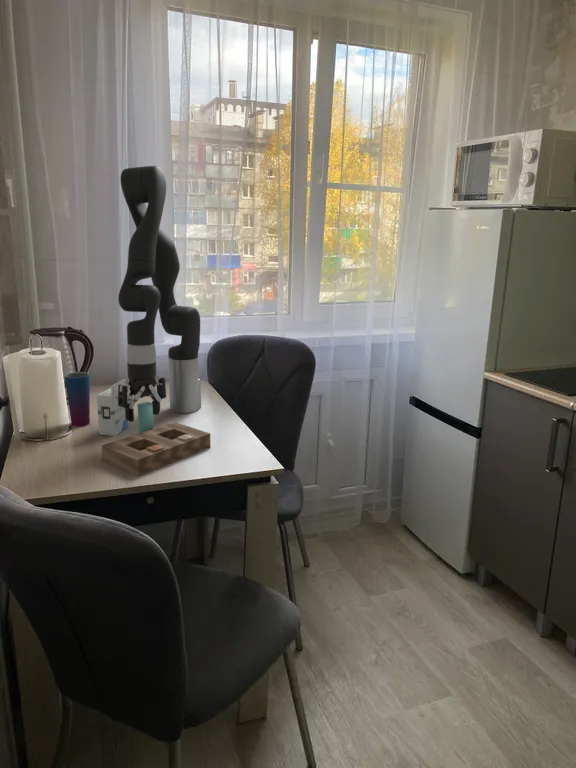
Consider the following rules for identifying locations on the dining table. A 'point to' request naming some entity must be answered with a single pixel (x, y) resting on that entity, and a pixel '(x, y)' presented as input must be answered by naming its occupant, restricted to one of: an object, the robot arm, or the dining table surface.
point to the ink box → (111, 411)
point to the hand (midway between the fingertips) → (143, 417)
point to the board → (155, 447)
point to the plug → (145, 416)
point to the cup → (78, 397)
